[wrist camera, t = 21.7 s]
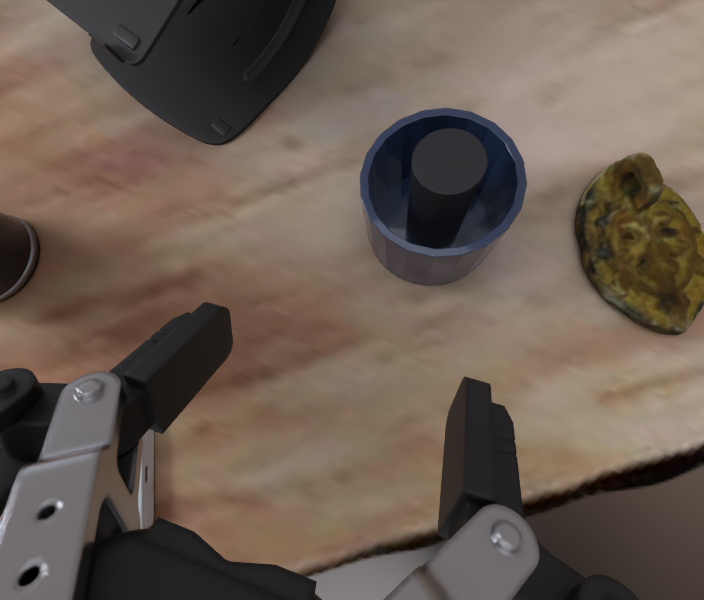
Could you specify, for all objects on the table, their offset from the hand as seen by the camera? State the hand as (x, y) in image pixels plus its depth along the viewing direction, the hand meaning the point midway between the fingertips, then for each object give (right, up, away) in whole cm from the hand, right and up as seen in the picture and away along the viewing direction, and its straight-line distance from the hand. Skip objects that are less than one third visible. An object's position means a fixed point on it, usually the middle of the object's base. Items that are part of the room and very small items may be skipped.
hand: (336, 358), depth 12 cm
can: (+8, +9, +20) cm, 23 cm away
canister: (+8, +9, +20) cm, 23 cm away
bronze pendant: (+24, +6, +18) cm, 31 cm away
